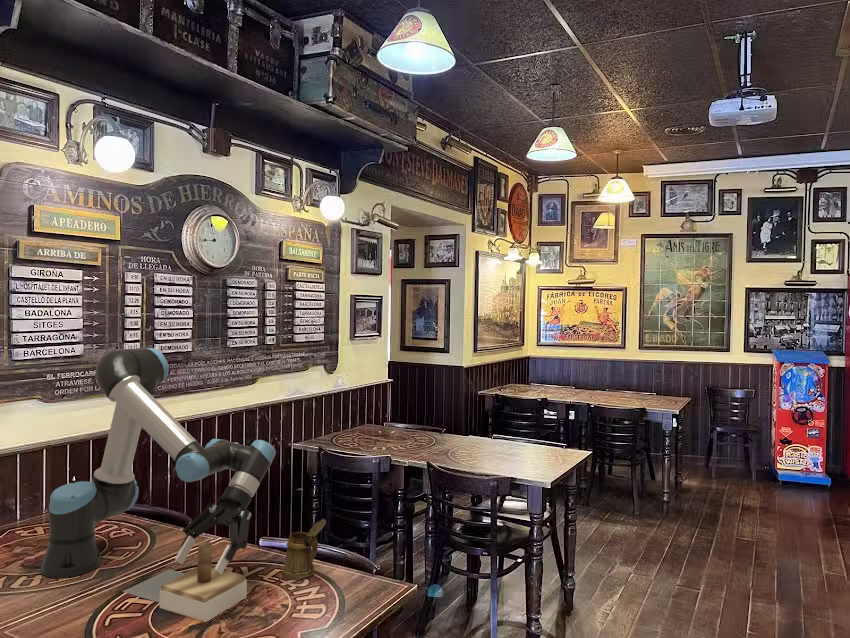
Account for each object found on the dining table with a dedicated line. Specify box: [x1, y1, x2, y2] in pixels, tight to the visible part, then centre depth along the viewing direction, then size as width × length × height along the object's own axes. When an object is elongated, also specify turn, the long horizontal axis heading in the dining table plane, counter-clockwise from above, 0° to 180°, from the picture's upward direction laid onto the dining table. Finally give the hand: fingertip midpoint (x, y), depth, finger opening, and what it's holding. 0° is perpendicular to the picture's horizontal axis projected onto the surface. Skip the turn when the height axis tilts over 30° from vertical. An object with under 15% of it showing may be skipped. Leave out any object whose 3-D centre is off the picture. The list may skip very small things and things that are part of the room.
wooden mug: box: [281, 518, 327, 581], centre depth 181 cm, size 9×14×18 cm, turn 58°
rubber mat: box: [122, 569, 186, 604], centre depth 171 cm, size 15×16×1 cm
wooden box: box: [159, 579, 248, 623], centre depth 162 cm, size 15×15×5 cm
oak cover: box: [161, 541, 246, 603], centre depth 162 cm, size 14×14×11 cm
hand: (197, 566), depth 160 cm, fingers open, 12 cm apart
